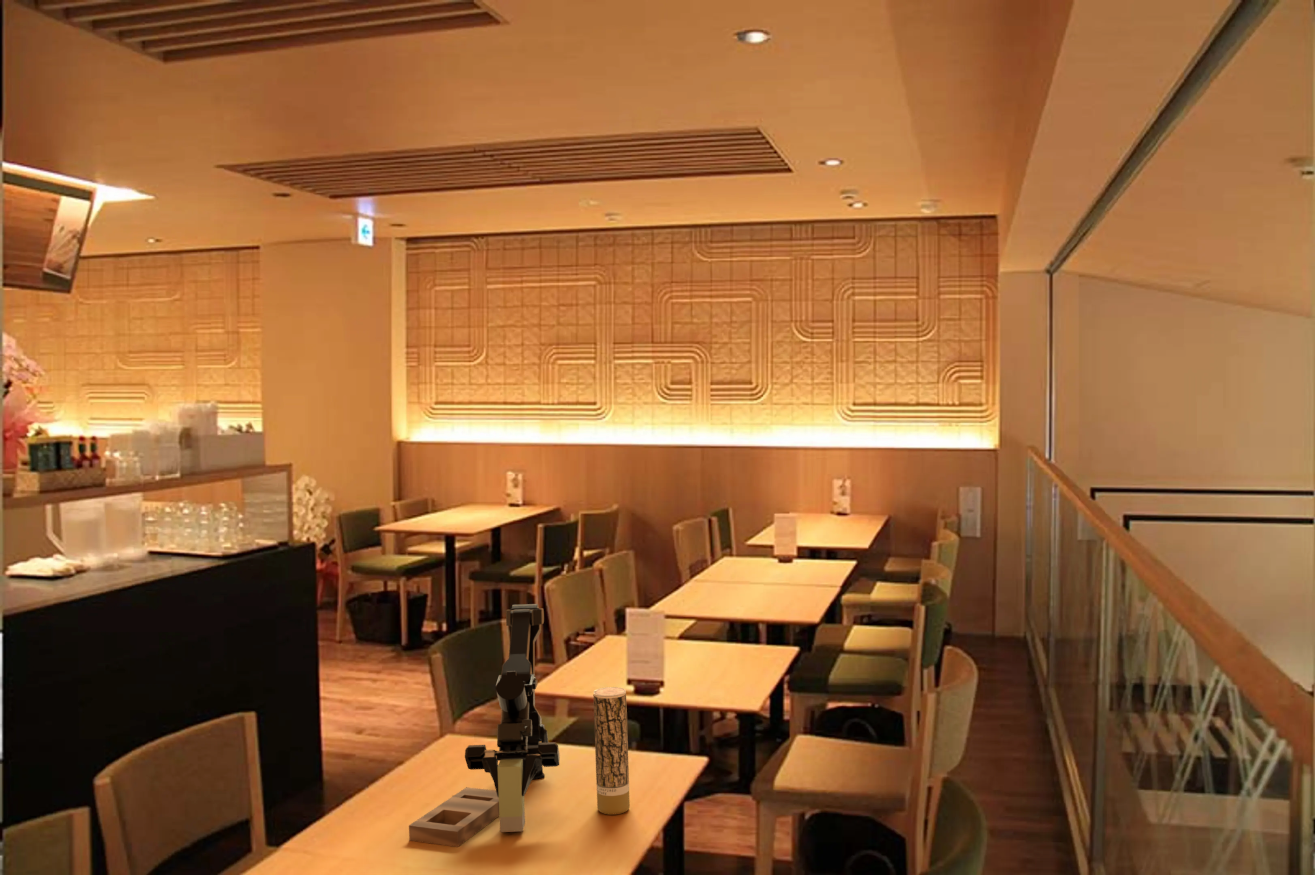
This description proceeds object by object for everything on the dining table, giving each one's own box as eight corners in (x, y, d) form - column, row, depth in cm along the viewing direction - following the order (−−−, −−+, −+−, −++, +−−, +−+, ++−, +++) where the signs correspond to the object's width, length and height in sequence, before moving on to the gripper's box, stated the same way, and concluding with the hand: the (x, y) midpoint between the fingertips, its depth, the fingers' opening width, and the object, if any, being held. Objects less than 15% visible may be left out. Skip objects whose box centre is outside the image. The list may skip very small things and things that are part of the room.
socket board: (466, 801, 240) (466, 787, 240) (512, 806, 237) (511, 792, 236) (409, 840, 220) (408, 825, 220) (457, 847, 216) (457, 831, 216)
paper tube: (625, 816, 229) (621, 696, 228) (593, 815, 230) (589, 695, 229) (633, 804, 235) (629, 687, 234) (601, 803, 237) (598, 686, 236)
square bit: (502, 823, 225) (500, 759, 224) (524, 822, 225) (522, 759, 224) (499, 832, 220) (497, 767, 220) (522, 831, 220) (520, 766, 220)
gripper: (464, 706, 225) (457, 779, 215) (556, 703, 226) (554, 775, 215) (471, 732, 234) (465, 804, 223) (560, 729, 234) (558, 800, 223)
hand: (510, 795), depth 221 cm, fingers closed on square bit, 4 cm apart
